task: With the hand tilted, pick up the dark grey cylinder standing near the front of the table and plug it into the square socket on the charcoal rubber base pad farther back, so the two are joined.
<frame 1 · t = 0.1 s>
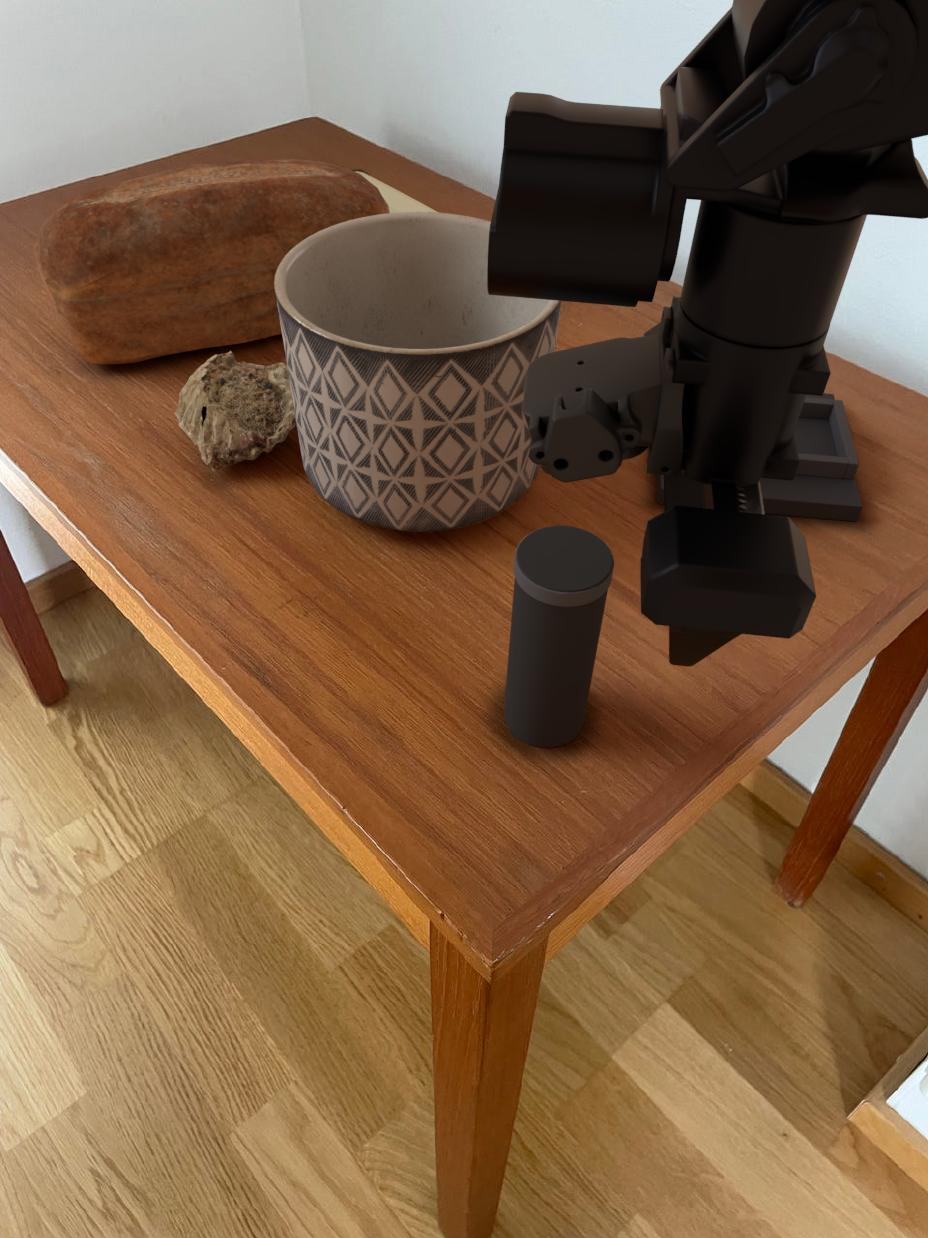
hand: (677, 594, 48), 14 cm above the table, tool pointing down, fingers open, 9 cm apart
planter: (422, 472, 77), on the table
seashell: (244, 441, 79), on the table
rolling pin: (420, 257, 101), on the table
dark grey cylinder: (543, 715, 60), on the table
bread: (234, 322, 91), on the table
base pad: (748, 453, 79), on the table
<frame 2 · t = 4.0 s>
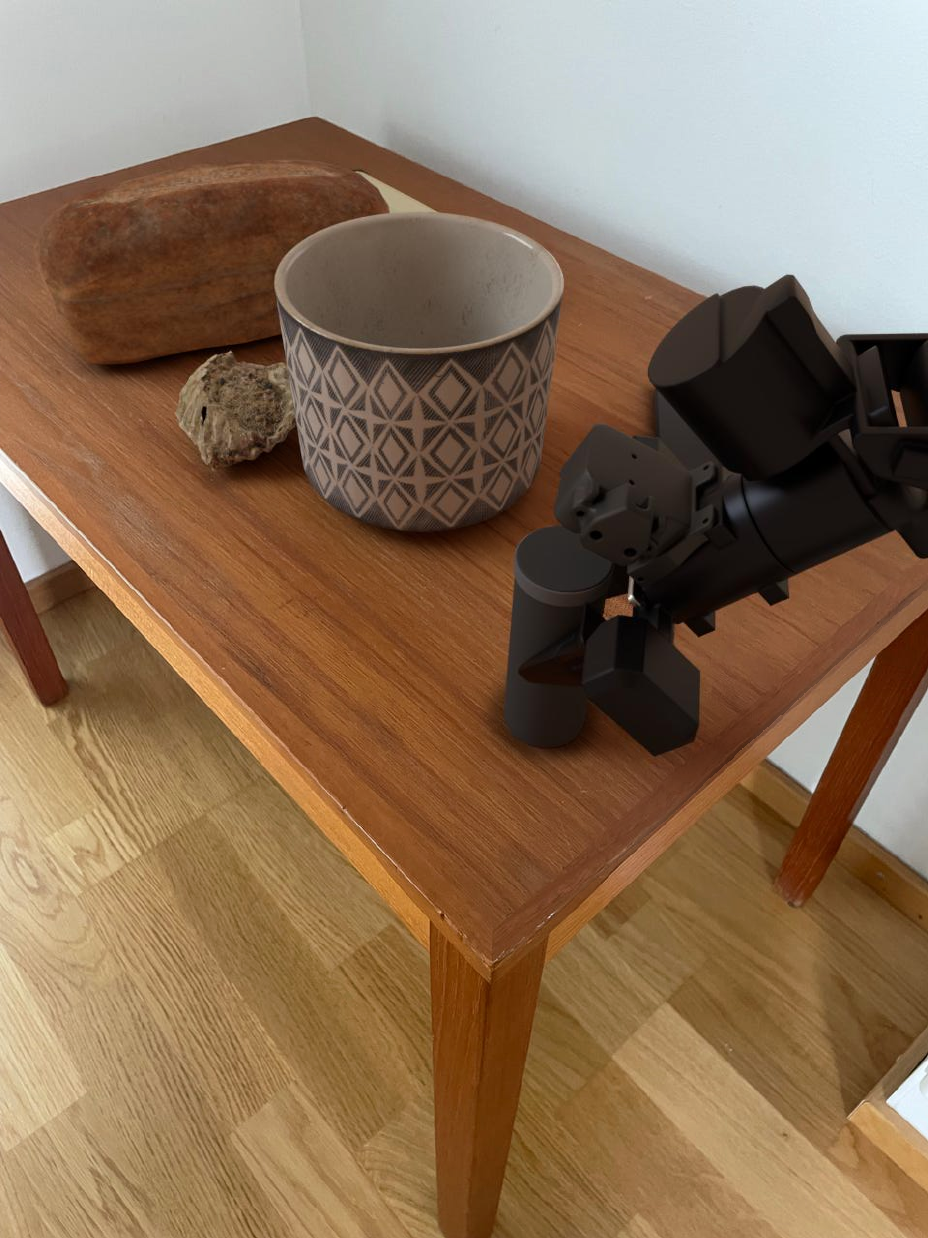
hand: (529, 640, 55), 7 cm above the table, tool tilted 45°, fingers closed on dark grey cylinder, 5 cm apart
dark grey cylinder: (543, 715, 60), on the table, touching gripper
everything else where it was.
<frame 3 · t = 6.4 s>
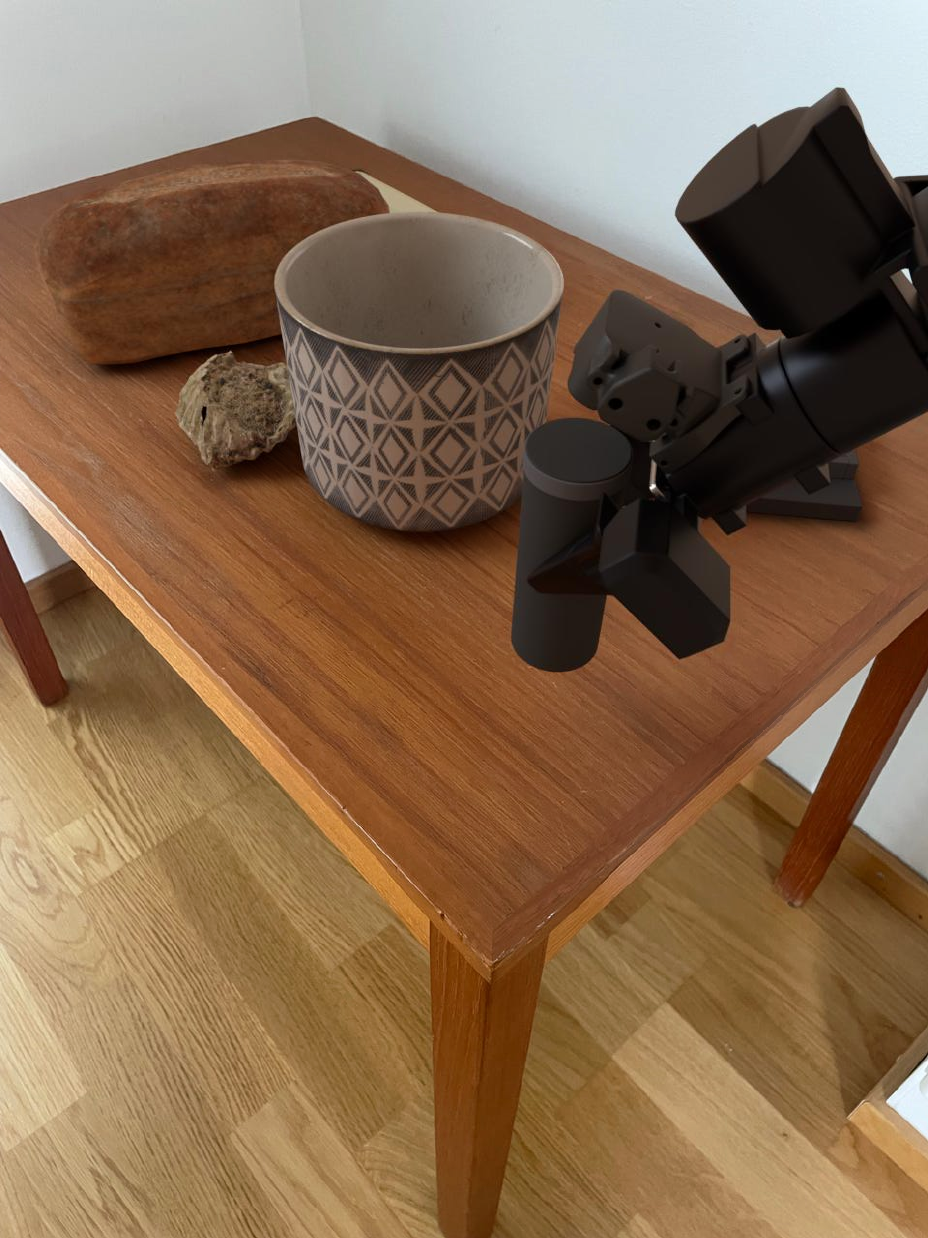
hand: (539, 549, 51), 13 cm above the table, tool tilted 45°, fingers closed on dark grey cylinder, 5 cm apart
dark grey cylinder: (554, 639, 55), point 7 cm above the table, touching gripper
everything else where it was.
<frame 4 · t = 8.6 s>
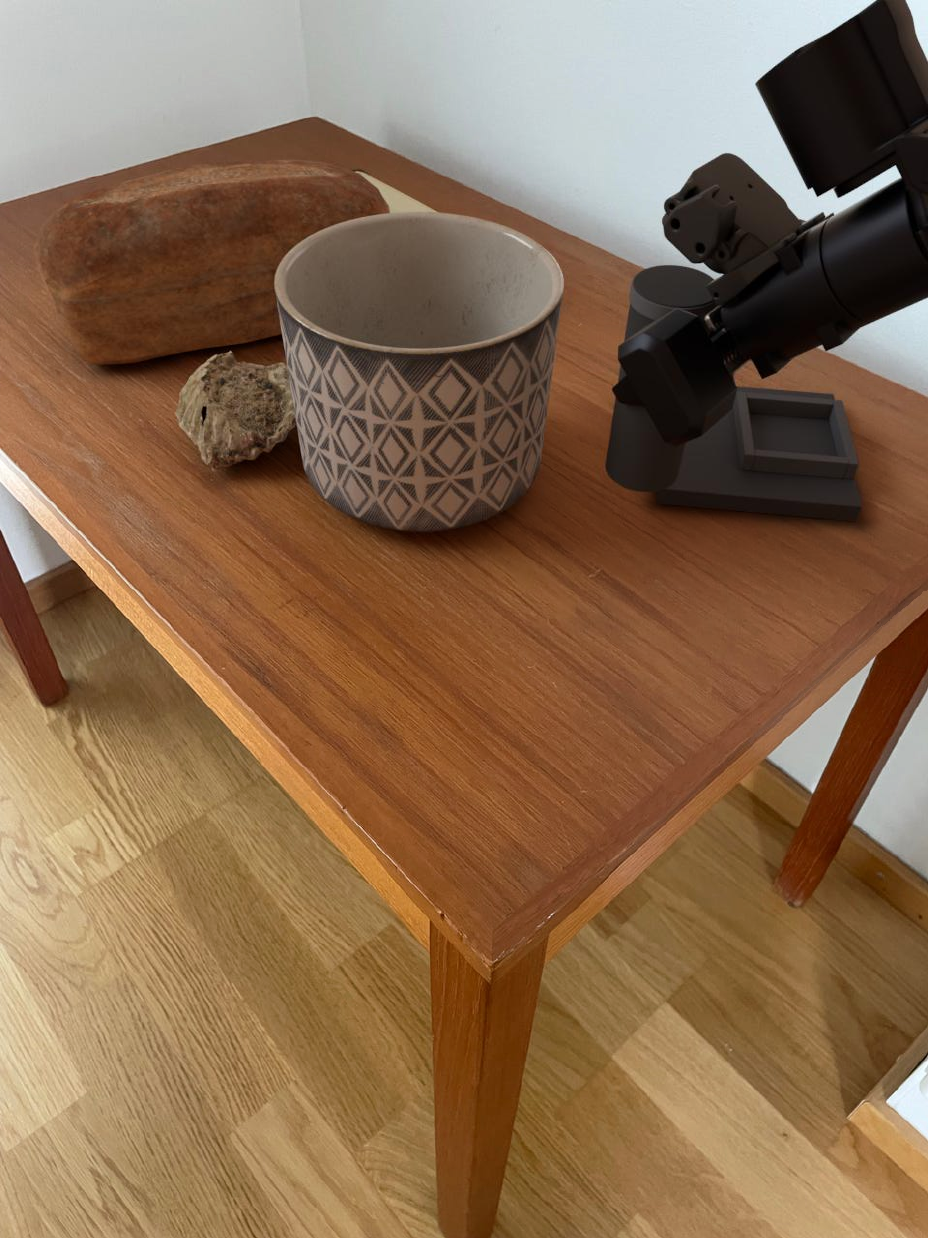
hand: (639, 377, 62), 13 cm above the table, tool tilted 45°, fingers closed on dark grey cylinder, 5 cm apart
dark grey cylinder: (641, 469, 66), point 7 cm above the table, touching gripper
everything else where it was.
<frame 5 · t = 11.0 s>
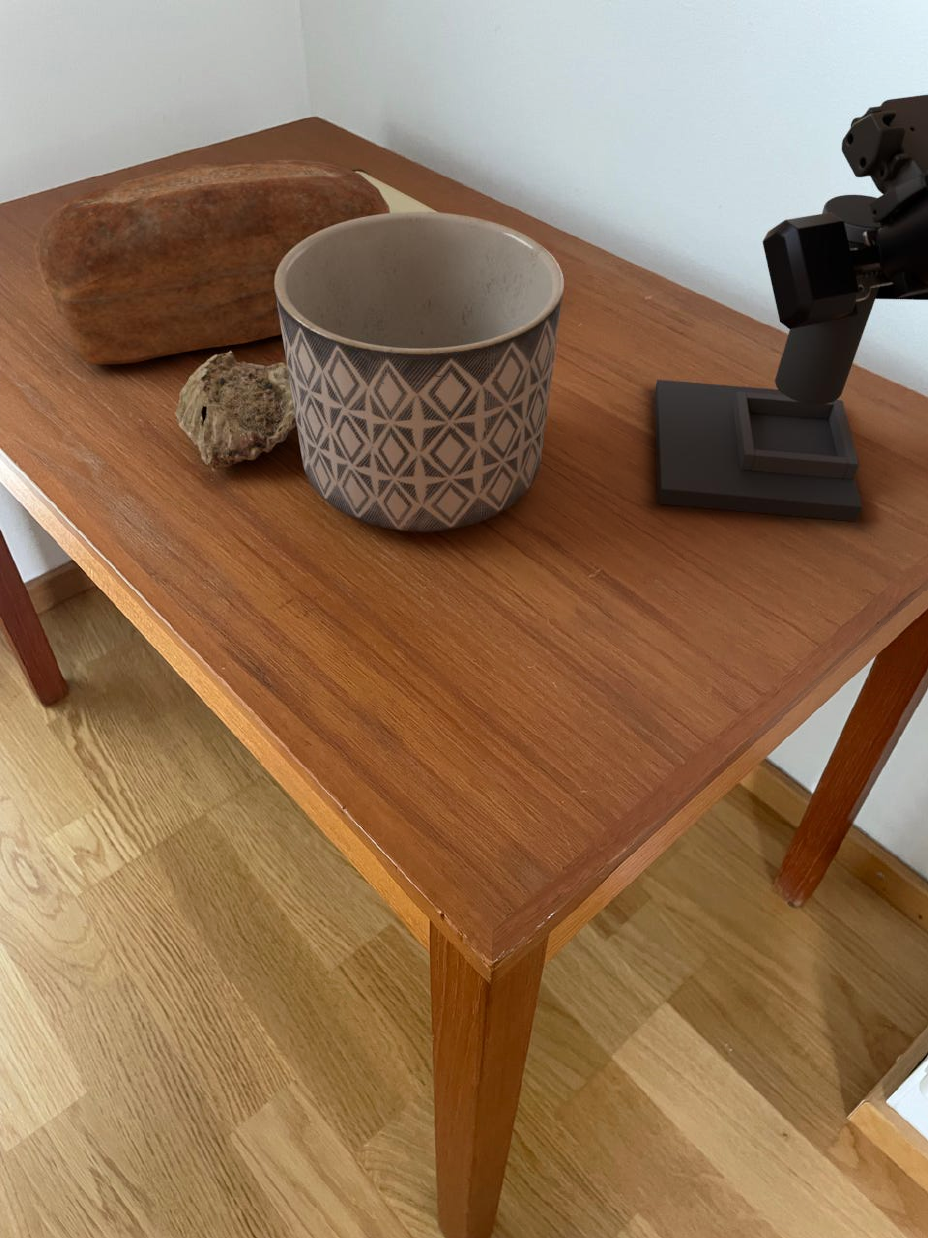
hand: (823, 296, 70), 13 cm above the table, tool tilted 45°, fingers closed on dark grey cylinder, 5 cm apart
dark grey cylinder: (808, 386, 74), point 7 cm above the table, touching gripper
everything else where it was.
when the fingers open (8 cm above the table, at t = 13.0 s): dark grey cylinder stays where it is, resting on base pad.
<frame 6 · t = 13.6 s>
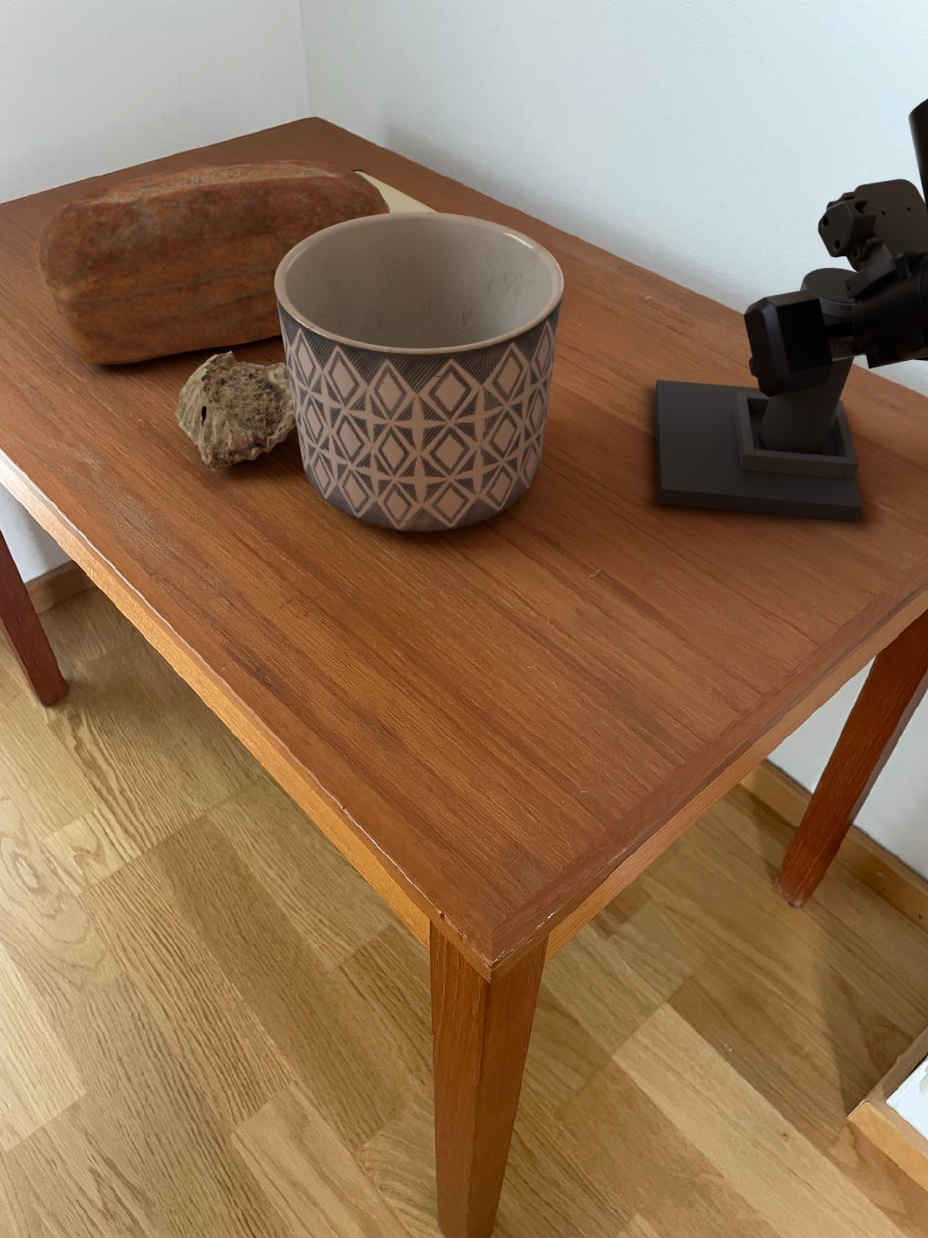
hand: (803, 357, 73), 8 cm above the table, tool tilted 45°, fingers open, 9 cm apart
dark grey cylinder: (789, 441, 77), point 1 cm above the table, touching base pad
everything else where it was.
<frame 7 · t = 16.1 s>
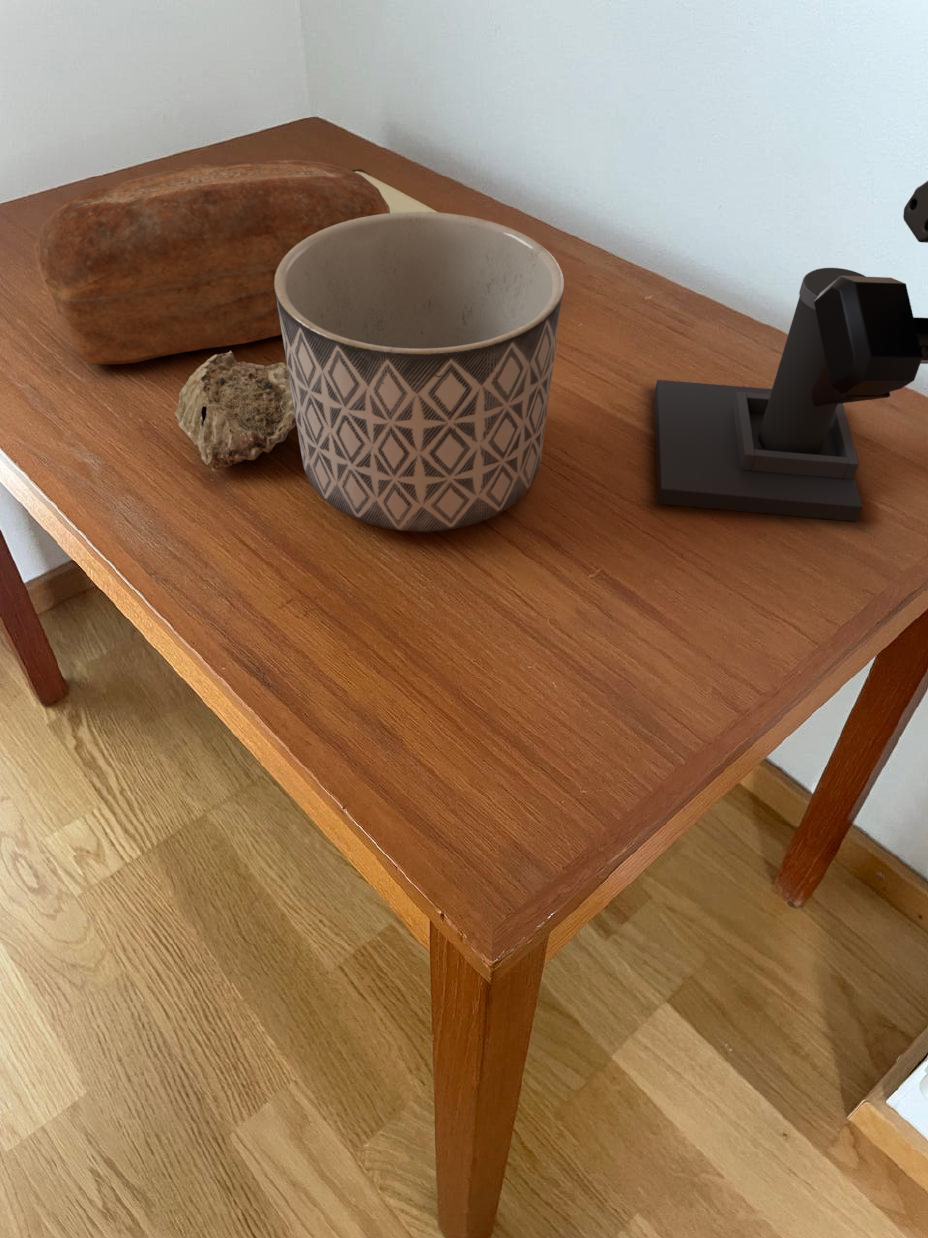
hand: (873, 398, 63), 12 cm above the table, tool tilted 35°, fingers open, 9 cm apart
nothing on the table moved.
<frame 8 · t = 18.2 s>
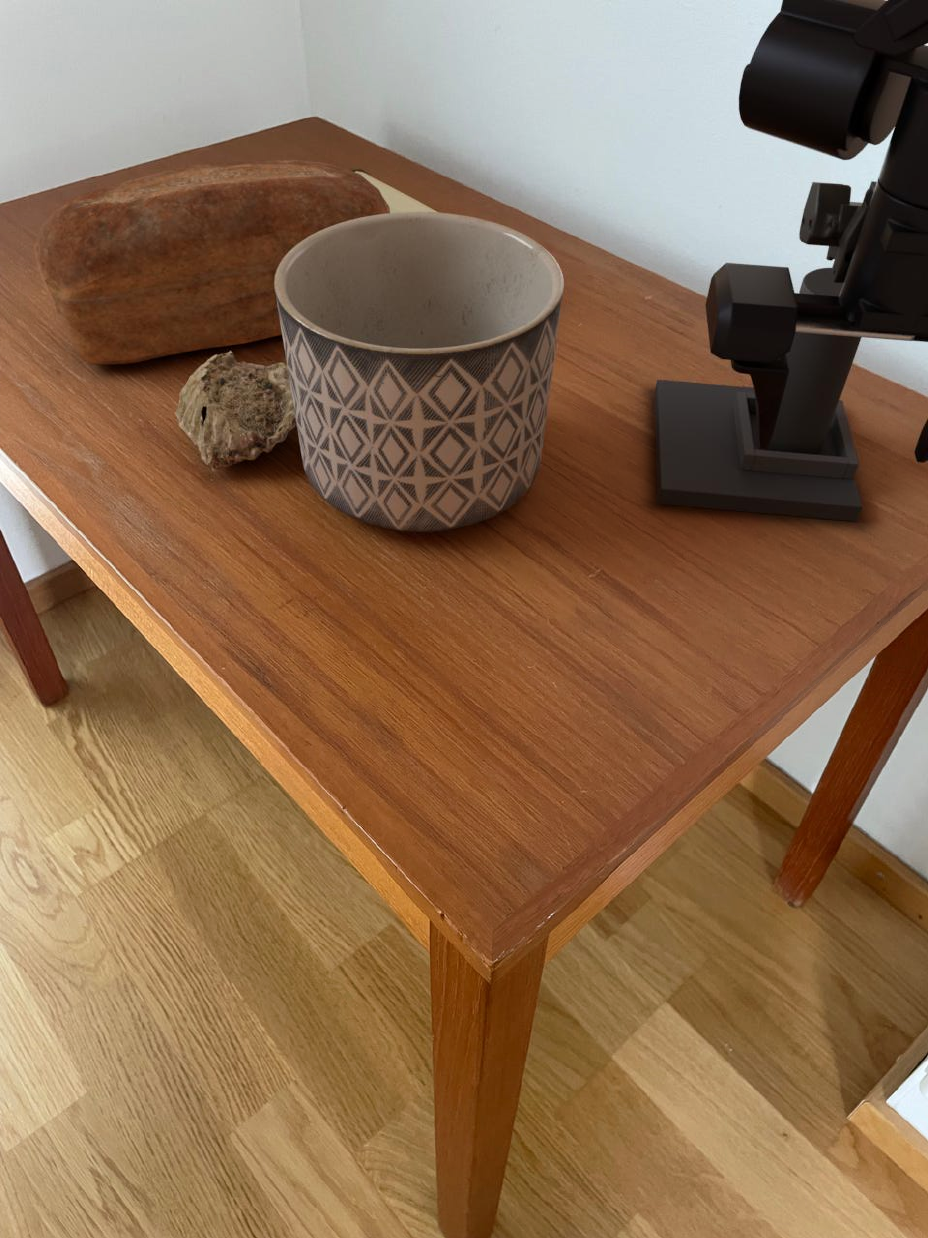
hand: (840, 451, 58), 13 cm above the table, tool pointing down, fingers open, 9 cm apart
nothing on the table moved.
at the end: dark grey cylinder 0.0 cm from the target spot on the base pad, point 1.5 cm above the base pad's base; dark grey cylinder tilted 0°; the gripper is holding nothing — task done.
